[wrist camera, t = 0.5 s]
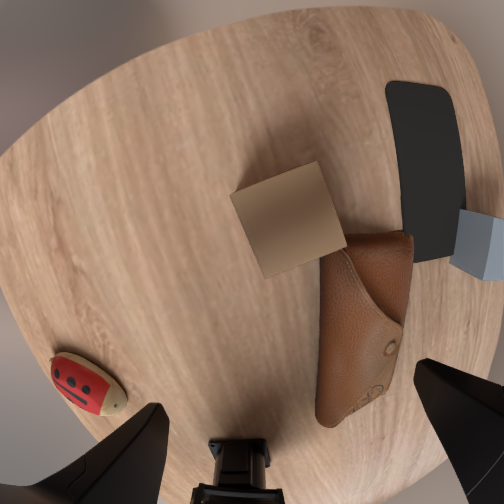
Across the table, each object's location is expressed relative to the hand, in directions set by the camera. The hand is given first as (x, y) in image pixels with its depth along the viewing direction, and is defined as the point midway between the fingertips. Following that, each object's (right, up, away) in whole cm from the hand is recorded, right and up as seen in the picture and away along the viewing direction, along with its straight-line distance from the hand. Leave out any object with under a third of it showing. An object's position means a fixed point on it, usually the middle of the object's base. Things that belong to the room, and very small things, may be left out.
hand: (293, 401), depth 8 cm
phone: (+14, +12, +11) cm, 21 cm away
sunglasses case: (+8, -2, +14) cm, 17 cm away
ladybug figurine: (-19, -9, +16) cm, 27 cm away
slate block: (+19, +6, +12) cm, 23 cm away
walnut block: (+1, +8, +12) cm, 14 cm away
